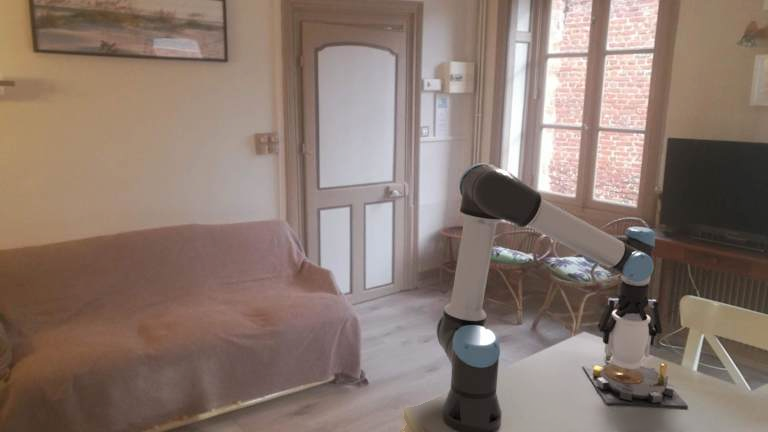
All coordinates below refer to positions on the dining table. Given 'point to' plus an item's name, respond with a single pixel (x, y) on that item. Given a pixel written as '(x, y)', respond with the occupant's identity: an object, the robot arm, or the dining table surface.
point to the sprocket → (634, 381)
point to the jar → (629, 340)
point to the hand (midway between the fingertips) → (626, 354)
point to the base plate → (615, 399)
